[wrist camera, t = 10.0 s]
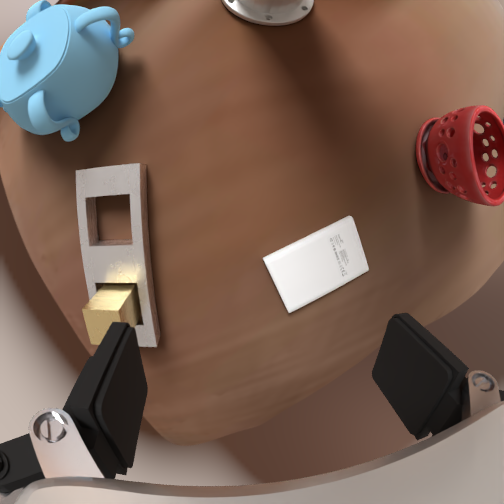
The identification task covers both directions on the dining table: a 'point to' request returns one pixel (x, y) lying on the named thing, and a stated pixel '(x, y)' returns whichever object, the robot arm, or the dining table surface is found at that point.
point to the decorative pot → (60, 66)
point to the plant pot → (463, 154)
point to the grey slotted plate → (119, 251)
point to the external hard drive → (317, 264)
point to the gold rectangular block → (111, 309)
